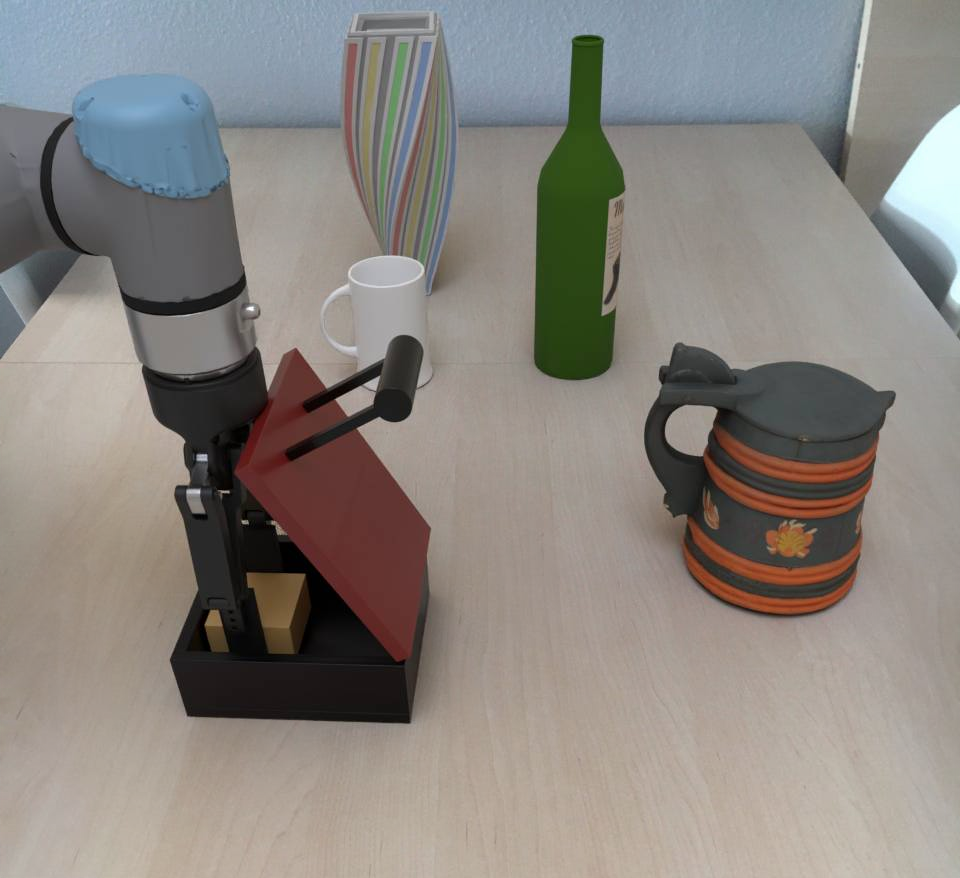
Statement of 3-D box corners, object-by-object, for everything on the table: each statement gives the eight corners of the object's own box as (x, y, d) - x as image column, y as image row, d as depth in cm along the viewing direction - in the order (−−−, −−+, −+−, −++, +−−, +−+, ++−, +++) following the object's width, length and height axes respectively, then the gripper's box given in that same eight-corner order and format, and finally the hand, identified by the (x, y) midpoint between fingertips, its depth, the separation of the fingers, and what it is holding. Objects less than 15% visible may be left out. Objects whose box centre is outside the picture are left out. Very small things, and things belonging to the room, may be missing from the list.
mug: (327, 397, 112) (312, 292, 104) (329, 360, 118) (315, 258, 110) (434, 391, 112) (428, 285, 104) (431, 354, 119) (425, 251, 110)
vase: (356, 312, 127) (326, 38, 106) (361, 267, 137) (335, 8, 116) (465, 308, 127) (456, 34, 107) (462, 263, 137) (454, 5, 116)
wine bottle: (607, 383, 113) (632, 52, 91) (527, 376, 114) (532, 49, 92) (616, 345, 119) (641, 27, 97) (540, 340, 121) (547, 25, 98)
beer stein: (636, 615, 85) (660, 400, 71) (629, 510, 95) (648, 306, 82) (870, 621, 84) (940, 404, 70) (836, 515, 94) (891, 308, 81)
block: (213, 659, 79) (204, 625, 77) (233, 605, 84) (225, 571, 82) (296, 661, 79) (289, 627, 76) (311, 607, 84) (305, 573, 81)
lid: (233, 473, 62) (377, 398, 58) (282, 354, 73) (406, 284, 69) (396, 662, 72) (529, 611, 68) (419, 533, 83) (534, 482, 79)
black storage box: (187, 716, 77) (169, 659, 73) (233, 588, 88) (220, 533, 84) (410, 723, 76) (404, 666, 72) (429, 593, 87) (425, 537, 83)
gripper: (219, 438, 57) (282, 716, 73) (288, 287, 72) (328, 546, 88) (89, 436, 58) (179, 713, 74) (184, 286, 72) (242, 544, 88)
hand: (260, 622), depth 81 cm, fingers open, 7 cm apart
